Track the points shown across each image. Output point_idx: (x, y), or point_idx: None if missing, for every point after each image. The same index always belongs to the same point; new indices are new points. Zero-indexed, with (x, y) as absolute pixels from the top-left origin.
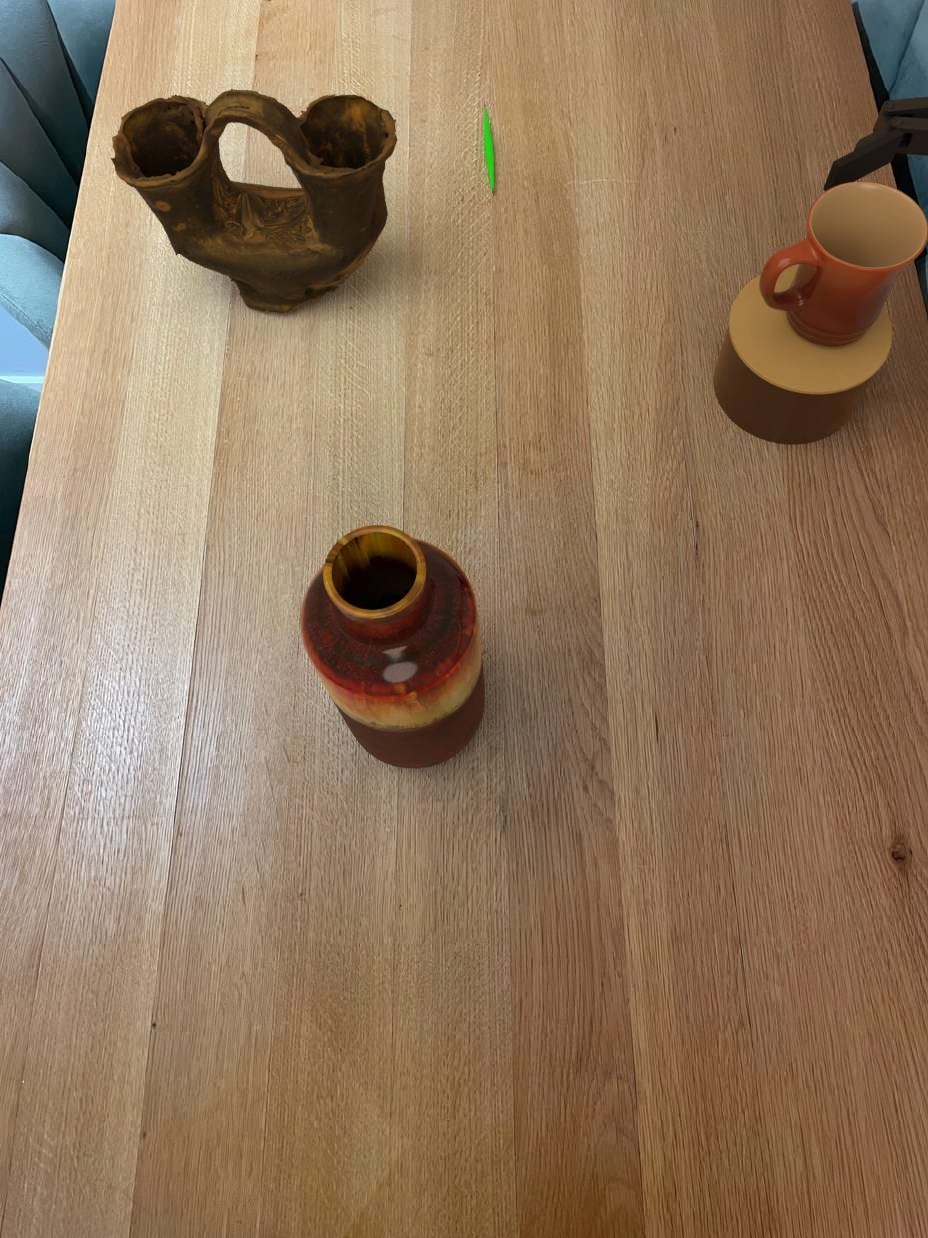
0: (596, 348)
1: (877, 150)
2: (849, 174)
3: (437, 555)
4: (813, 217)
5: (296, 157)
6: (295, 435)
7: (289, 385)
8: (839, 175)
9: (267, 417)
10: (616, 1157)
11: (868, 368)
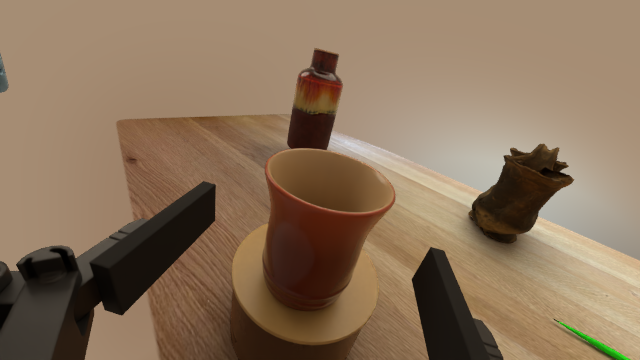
0: (396, 266)
1: (449, 316)
2: (425, 288)
3: (324, 76)
4: (372, 174)
5: (519, 156)
6: (410, 190)
7: (432, 200)
8: (424, 263)
9: (421, 191)
10: (200, 121)
11: (242, 254)
